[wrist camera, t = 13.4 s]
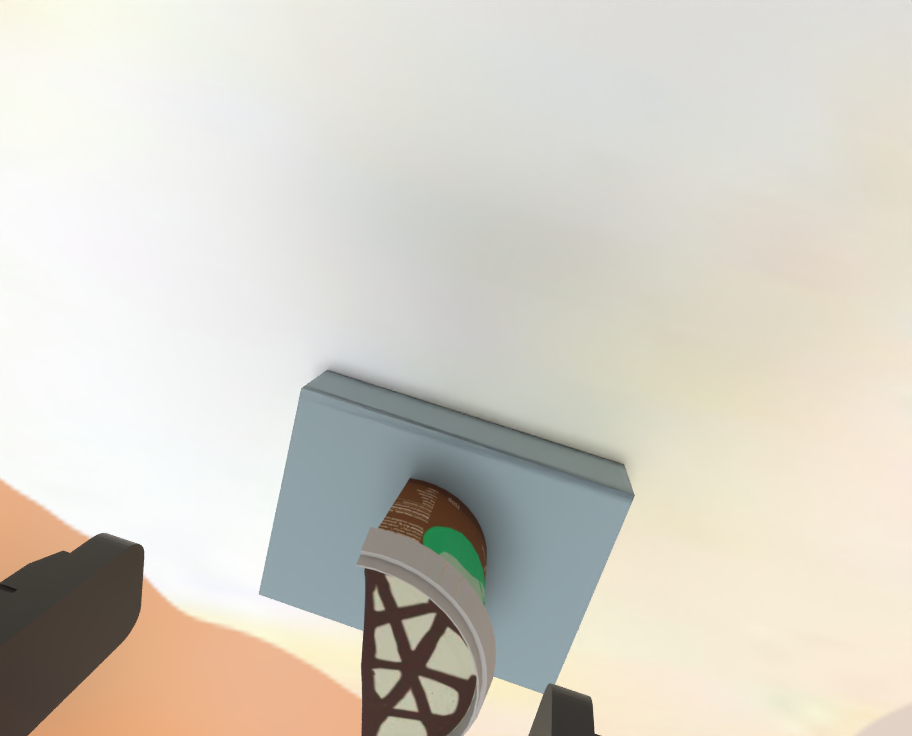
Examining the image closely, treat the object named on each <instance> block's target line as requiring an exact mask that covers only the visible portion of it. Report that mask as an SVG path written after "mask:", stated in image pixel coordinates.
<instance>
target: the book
mask: <svg viewBox="0 0 912 736" xmlns="http://www.w3.org/2000/svg"><path fill="white" fill-rule="evenodd" d="M409 478H412V479H418V480H423V481H426V482H429V483H432V484H435V485H437V486H439V487H441V488H443V489H445V490H447V491H448V492H450V493H451V494H453V495H454V496H456V497H457V498H458V499H459V500H461V501H462V502H463V503H464V504H465V505H466V506H467V507H468V508H469V510H470V511H471V512H472V513H473V515H474V516H475V517H476V519H477V521H478V523H479V524H480V526H481V529H482V531H483V534H484V537H485V542H486V547H487V563H486V586H485V608H486V610H487V613H488V615H489V618H490V621H491V623H492V626H493V631H494V636H495V642H496V665H495V670H494V675H493V676H494V677H497V678H499V679H502V680H505V681H508V682H511V683H514V684H517V685H519V686H522V687H525V688H528V689H531V690H534V691H537V692H539V693H542V694H544V692H545V689H546V687H547V685H548V684H549V683H551V684H554V685H555V683H556V680H557V678H558V676H559V673H560V671H561V669H562V666H563V664H564V661H565V659H566V657H567V654H568V652H569V650H570V647H571V645H572V643H573V640H574V638H575V635H576V633H577V631H578V628H579V626H580V624H581V621H582V619H583V617H584V614H585V612H586V609H587V607H588V605H589V602H590V600H591V598H592V595H593V593H594V591H595V588H596V586H597V583H598V581H599V579H600V576H601V574H602V572H603V569H604V567H605V565H606V562H607V560H608V557H609V555H610V553H611V550H612V548H613V546H614V543H615V541H616V539H617V536H618V534H619V531H620V529H621V527H622V524H623V522H624V520H625V517H626V515H627V513H628V510H629V508H630V505H631V503H632V501H633V498H634V496H635V495H634V492H633V490H632V487H631V484H630V481H629V478H628V475H627V472H626V469H625V466H624V465H623V464H620V463H617V462H614V461H611V460H608V459H605V458H601V457H598V456H595V455H592V454H589V453H586V452H583V451H579V450H576V449H573V448H570V447H567V446H564V445H561V444H557V443H554V442H551V441H548V440H545V439H542V438H539V437H536V436H532V435H529V434H526V433H523V432H520V431H517V430H514V429H510V428H507V427H504V426H501V425H498V424H495V423H492V422H488V421H485V420H482V419H479V418H476V417H473V416H470V415H466V414H463V413H460V412H457V411H454V410H451V409H448V408H445V407H441V406H438V405H435V404H432V403H429V402H426V401H423V400H419V399H416V398H413V397H410V396H407V395H404V394H401V393H397V392H394V391H391V390H388V389H385V388H382V387H379V386H375V385H372V384H369V383H366V382H363V381H360V380H357V379H353V378H350V377H347V376H344V375H341V374H338V373H335V372H332V371H328V370H327V371H325V372H324V373H322V374H321V375H320V376H318V377H317V378H315V379H314V380H312V381H311V382H310V383H308V384H307V385H305V386H304V387H303V388H301V392H300V397H299V402H298V407H297V412H296V417H295V421H294V426H293V431H292V436H291V441H290V446H289V450H288V455H287V460H286V465H285V470H284V475H283V480H282V484H281V489H280V494H279V499H278V504H277V509H276V513H275V518H274V523H273V528H272V533H271V538H270V543H269V547H268V552H267V557H266V562H265V567H264V572H263V576H262V581H261V586H260V591H259V594H260V595H262V596H265V597H268V598H271V599H274V600H277V601H280V602H282V603H285V604H288V605H291V606H294V607H297V608H300V609H302V610H305V611H308V612H311V613H314V614H317V615H320V616H322V617H325V618H328V619H331V620H334V621H337V622H340V623H342V624H345V625H348V626H351V627H354V628H357V629H360V630H362V631H364V609H365V574H364V570H365V568H363V567H359V566H356V563H357V561H358V559H359V557H360V555H361V549H362V546H363V544H364V542H365V539H366V537H367V535H368V532H369V530H370V528H371V527H373V528H378V527H379V526H380V524H381V522H382V521H383V519H384V518H385V516H386V514H387V513H388V511H389V510H390V508H391V507H392V505H393V503H394V502H395V500H396V499H397V497H398V496H399V494H400V492H401V491H402V489H403V488H404V486H405V484H406V483H407V481H408V480H409Z"/></svg>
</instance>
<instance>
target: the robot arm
mask: <svg viewBox="0 0 912 736" xmlns="http://www.w3.org/2000/svg"><path fill="white" fill-rule="evenodd" d="M143 567H144V549H143V547H142V546H141V545H140V544H137V543H134V542H131V541H128V540H125V539H122V538H119V537H116V536H113V535H110V534H107V533H101V534H98V535H96V536H94V537H92V538H91V539H90V540H88V541H87V542H85V543H84V544H82V545H81V546H80V547H78V548H77V549H75V550H74V551H72V552H71V553H68V552H66V551H61V552H58V553H56V554H53V555H51V556H48V557H45V558H43V559H40V560H37V561H35V562H32V563H29V564H28V565H26V566H25V567H23V568H22V569H20V570H19V571H17V572H15V573H14V574H13V575H11V576H9V577H8V578H6V579H5V580H3V581H2V582H0V736H28V735H29V734H30V733H31V732H32V731H33V730H34V729H35V728H36V727H37V726H38V725H39V724H40V722H42V721H43V720H44V719H45V718H46V717H47V716H48V715H49V714H50V713H51V712H52V711H53V710H54V709H55V708H56V707H57V706H58V705H59V704H60V703H61V702H62V701H63V700H64V699H65V698H66V697H67V696H68V695H69V694H70V693H71V692H72V691H73V690H74V689H75V688H76V687H77V686H78V685H79V684H80V683H81V682H82V681H83V680H85V679H86V678H87V677H88V676H89V675H90V674H91V672H93V671H94V670H95V669H96V668H97V667H98V666H99V664H101V663H102V662H103V661H104V660H105V659H106V658H107V657H108V656H109V655H110V654H111V653H112V652H113V651H114V650H115V649H116V648H117V647H118V646H119V645H120V644H121V643H122V642H123V641H124V640H125V638H126V637H127V636H128V634H129V633H130V632H131V630H132V628H133V627H134V625H135V623H136V621H137V619H138V616H139V613H140V609H141V597H142V581H143ZM529 736H600V735H597V734H595V733H594V718H593V704H592V700H591V697H590V696H587V695H584V694H581V693H578V692H575V691H572V690H569V689H566V688H563V687H560V686H557V685H554V684H551V683H549V684H548V685H547V687H546V689H545V692H544V695H543V697H542V700H541V703H540V706H539V708H538V711H537V714H536V717H535V719H534V722H533V725H532V728H531V730H530V733H529Z"/></svg>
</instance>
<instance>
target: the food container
mask: <svg viewBox="0 0 912 736" xmlns="http://www.w3.org/2000/svg"><path fill="white" fill-rule="evenodd" d="M486 563H487V547H486V542H485V537H484V534H483V531H482V529H481V526H480V524H479V523H478V521H477V519H476V517H475V516H474V515H473V513H472V512H471V511H470V510H469V508H468V507H467V506H466V505H465V504H464V503H463V502H462V501H461V500H459V499H458V498H457V497H456V496H454V495H453V494H451V493H450V492H448V491H447V490H445V489H443V488H441V487H439V486H437V485H435V484H432V483H429V482H426V481H423V480H418V479H412V478H409V480H408V481H407V483H406V484H405V486H404V488H403V489H402V491H401V492H400V494H399V496H398V497H397V499H396V500H395V502H394V503H393V505H392V507H391V508H390V510H389V511H388V513H387V514H386V516H385V518H384V519H383V521H382V522H381V524H380V526H379V527H378V528H373V527H371V528H370V530H369V532H368V535H367V537H366V539H365V542H364V544H363V546H362V549H361V555H360V557H359V559H358V561H357V563H356V566H359V567H363V568H365V570H364V574H365V609H364V631H363V647H362V662H361V675H362V736H464V734H465V733H466V732H467V731H468V730H469V728H470V727H471V725H472V724H473V723H474V721H475V720H476V718H477V716H478V714H479V712H480V709H481V707H482V704H483V702H484V700H485V697H486V695H487V692H488V689H489V687H490V684H491V682H492V679H493V675H494V670H495V665H496V642H495V636H494V631H493V626H492V623H491V621H490V618H489V615H488V613H487V610H486V608H485V586H486Z"/></svg>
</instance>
